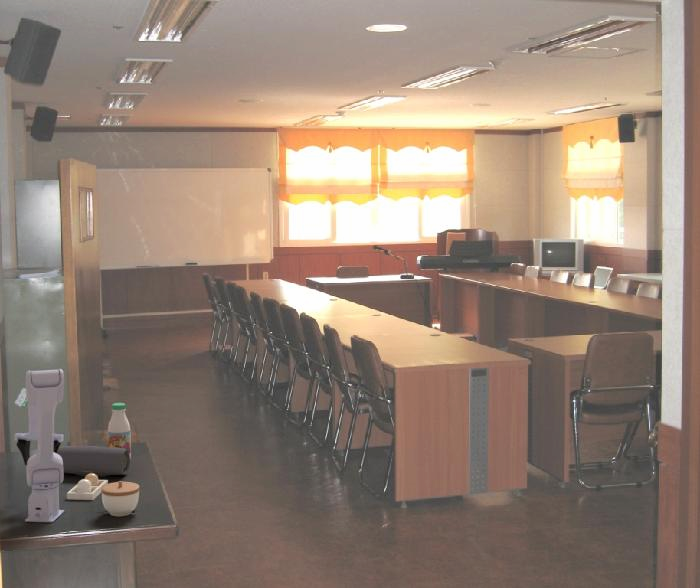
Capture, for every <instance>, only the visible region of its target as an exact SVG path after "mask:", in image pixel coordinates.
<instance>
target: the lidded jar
mask: <svg viewBox="0 0 700 588" xmlns="http://www.w3.org/2000/svg"><path fill="white" fill-rule="evenodd" d="M139 496H140V485H139V484H138V483H135V482H130V481H122V480H119V481H115V482H110V483H109V482H108V484H106V485H104V486H103V487H102V488H101V500H102V504H103V505H102V506H103V507H104V509H105V510H106V511H107V512H108V513H109V515H110V516H112V517H113V516H114V517H126V516H129V515H132V512H133V511H134V510H135V509H136V507H137V506H138V503H139V498H140V497H139Z"/></svg>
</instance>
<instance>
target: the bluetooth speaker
mask: <svg viewBox="0 0 700 588" xmlns="http://www.w3.org/2000/svg"><path fill="white" fill-rule="evenodd" d="M57 454H58V455H60V456H61V458H62V460H63V470H64V474H72V475H75V476H83V477H86V475H88V474H90V473H93V474H96V475H97V477H108V476H120V475H121V476H123V475H126V474H128V473H129V470H130V466H131V459H130V455H129V451H128V449H124V448H115V447H108V446H100V445H99V446H98V445H97V446H96V445H60V446H59V449H58V451H57Z"/></svg>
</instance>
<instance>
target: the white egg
mask: <svg viewBox="0 0 700 588" xmlns="http://www.w3.org/2000/svg"><path fill="white" fill-rule="evenodd" d="M76 485H77V492H79V493H92V490H91V483H90V481H89V480H87V479H85V478H83V479H80V480H79V481H78V482H77V484H76Z"/></svg>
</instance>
